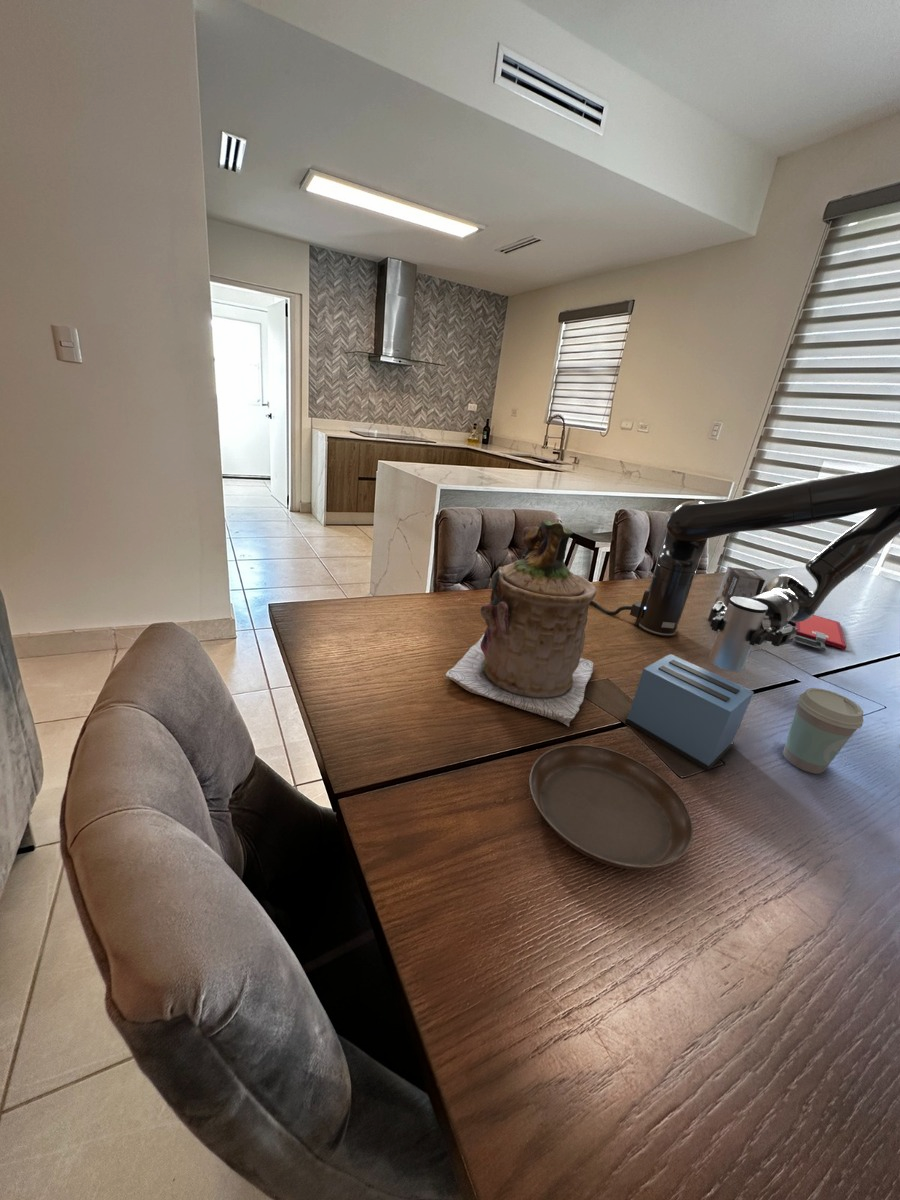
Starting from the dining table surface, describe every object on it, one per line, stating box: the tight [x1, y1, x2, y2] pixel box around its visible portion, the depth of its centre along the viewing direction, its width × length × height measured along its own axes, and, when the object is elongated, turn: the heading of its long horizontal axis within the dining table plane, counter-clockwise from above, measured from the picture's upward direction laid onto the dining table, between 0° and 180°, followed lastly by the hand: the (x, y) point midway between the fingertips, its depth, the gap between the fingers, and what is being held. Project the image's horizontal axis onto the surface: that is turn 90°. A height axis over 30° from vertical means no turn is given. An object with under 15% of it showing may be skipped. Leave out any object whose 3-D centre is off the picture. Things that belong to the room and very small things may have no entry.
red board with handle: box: [787, 614, 848, 651], centre depth 132 cm, size 30×3×15 cm
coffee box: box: [713, 566, 766, 632], centre depth 126 cm, size 9×6×16 cm
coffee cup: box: [782, 687, 864, 775], centre depth 76 cm, size 9×8×12 cm
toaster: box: [624, 653, 755, 772], centre depth 80 cm, size 14×11×11 cm
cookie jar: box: [445, 519, 598, 727], centre depth 87 cm, size 25×25×32 cm
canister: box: [708, 597, 768, 673], centre depth 83 cm, size 6×6×12 cm
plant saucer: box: [529, 743, 694, 870], centre depth 62 cm, size 21×21×3 cm
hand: (733, 632), depth 81 cm, fingers closed on canister, 5 cm apart
